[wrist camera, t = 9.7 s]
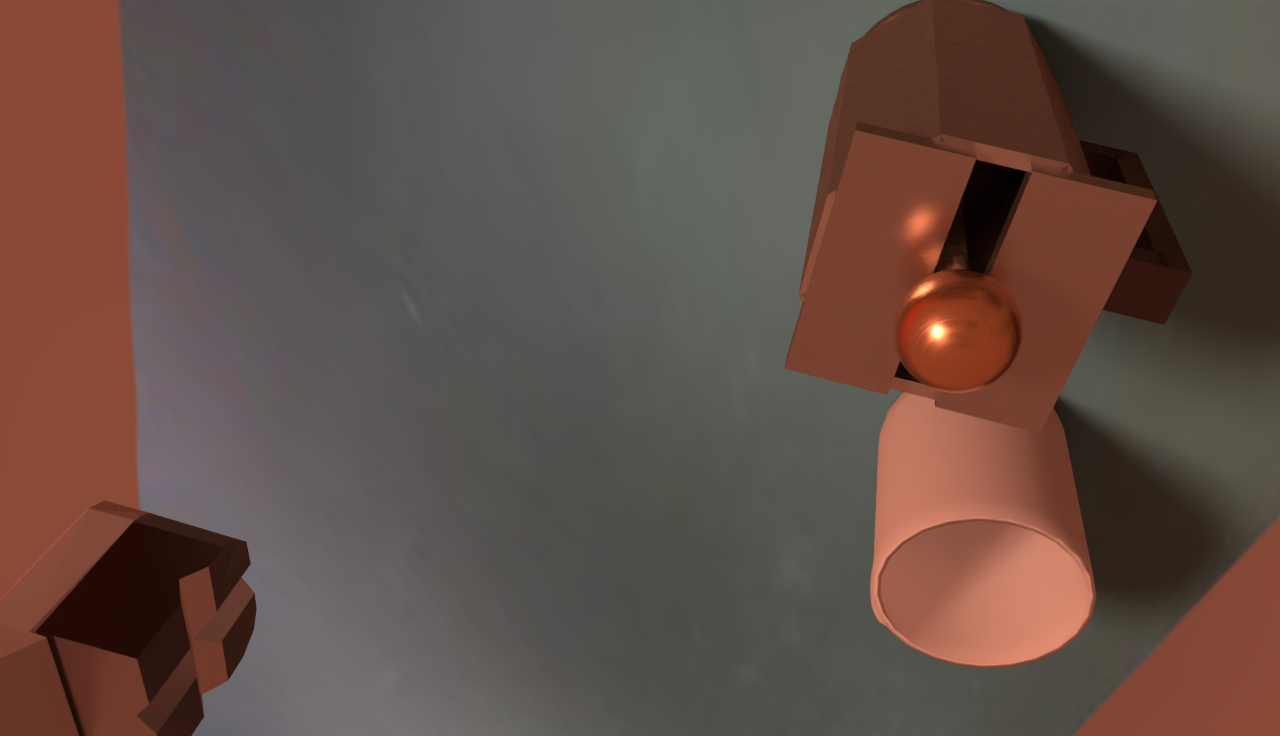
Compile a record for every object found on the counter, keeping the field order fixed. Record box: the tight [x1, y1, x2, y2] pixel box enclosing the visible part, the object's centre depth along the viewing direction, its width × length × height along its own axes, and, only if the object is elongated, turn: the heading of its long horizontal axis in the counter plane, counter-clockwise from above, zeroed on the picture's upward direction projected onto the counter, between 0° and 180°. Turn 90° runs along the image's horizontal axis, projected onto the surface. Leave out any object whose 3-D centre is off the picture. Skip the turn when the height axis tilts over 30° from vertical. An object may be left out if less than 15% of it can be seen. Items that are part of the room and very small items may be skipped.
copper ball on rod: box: [893, 160, 1023, 393], centre depth 35 cm, size 7×7×18 cm
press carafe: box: [785, 0, 1192, 433], centre depth 38 cm, size 9×12×17 cm
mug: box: [870, 392, 1097, 668], centre depth 51 cm, size 10×12×12 cm
